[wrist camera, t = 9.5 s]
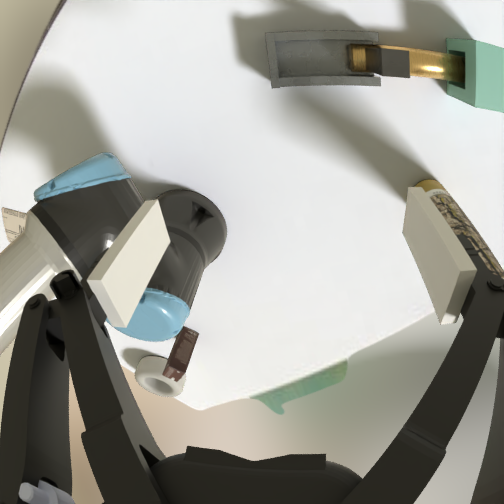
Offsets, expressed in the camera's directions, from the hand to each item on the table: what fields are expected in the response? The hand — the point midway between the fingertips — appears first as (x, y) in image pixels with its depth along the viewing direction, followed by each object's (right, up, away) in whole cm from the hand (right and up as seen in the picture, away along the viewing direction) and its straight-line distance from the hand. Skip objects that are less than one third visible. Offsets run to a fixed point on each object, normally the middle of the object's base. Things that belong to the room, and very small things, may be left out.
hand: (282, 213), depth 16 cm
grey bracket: (+8, +25, +21) cm, 33 cm away
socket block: (+30, +25, +17) cm, 42 cm away
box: (-18, -22, +61) cm, 67 cm away
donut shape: (-28, -37, +73) cm, 87 cm away
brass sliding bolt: (+21, +24, +17) cm, 37 cm away
